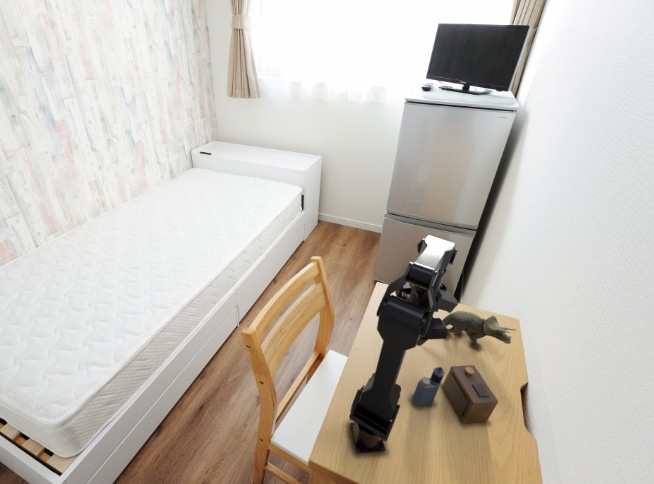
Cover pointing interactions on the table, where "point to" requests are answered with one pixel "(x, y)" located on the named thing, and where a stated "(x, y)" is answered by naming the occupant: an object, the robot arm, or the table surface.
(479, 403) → the radio
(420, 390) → the vaping device
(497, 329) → the toy dinosaur
